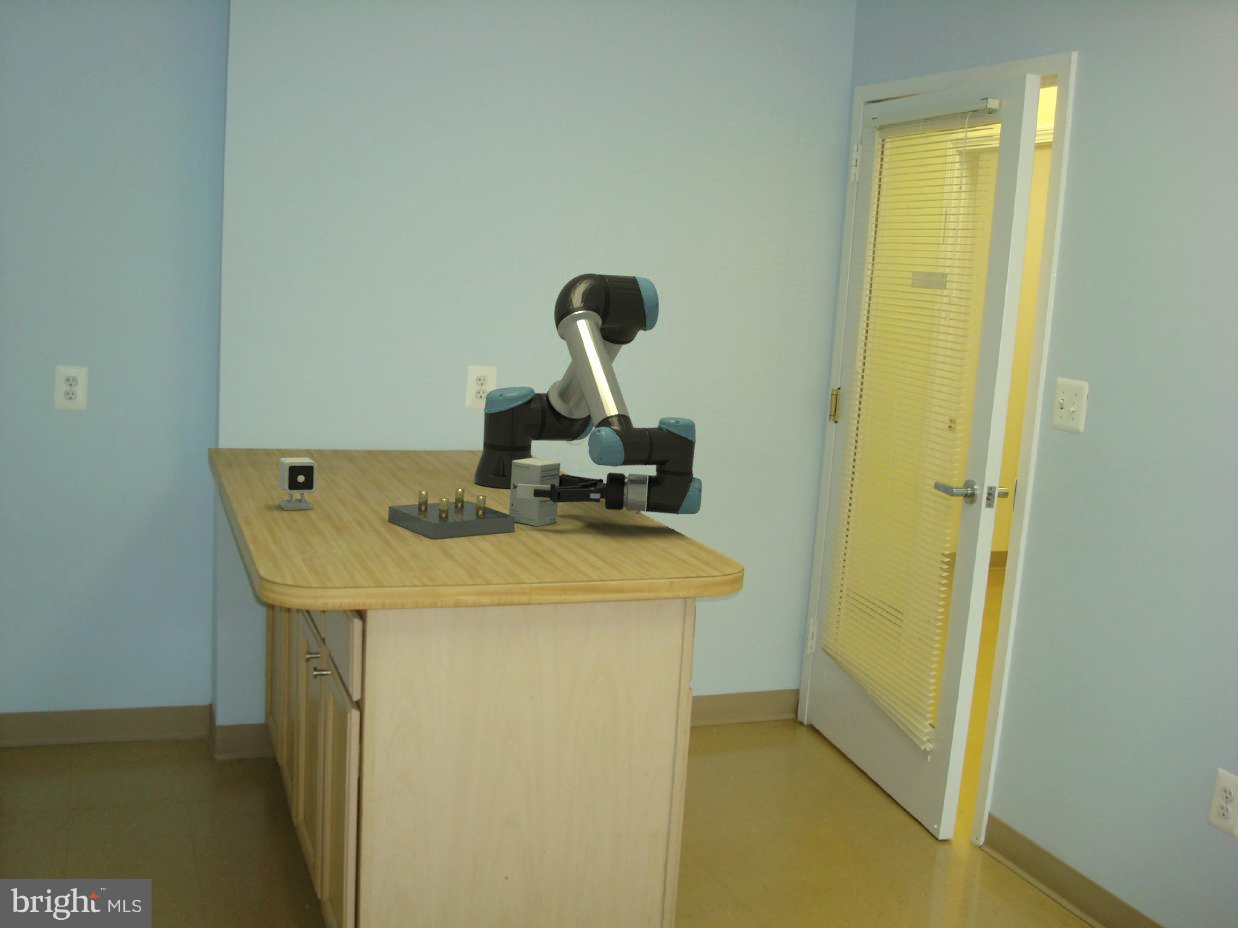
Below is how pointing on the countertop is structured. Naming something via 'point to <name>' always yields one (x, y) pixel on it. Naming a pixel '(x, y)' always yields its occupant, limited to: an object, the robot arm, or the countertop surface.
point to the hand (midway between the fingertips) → (521, 485)
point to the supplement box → (533, 474)
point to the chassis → (451, 517)
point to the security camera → (297, 481)
